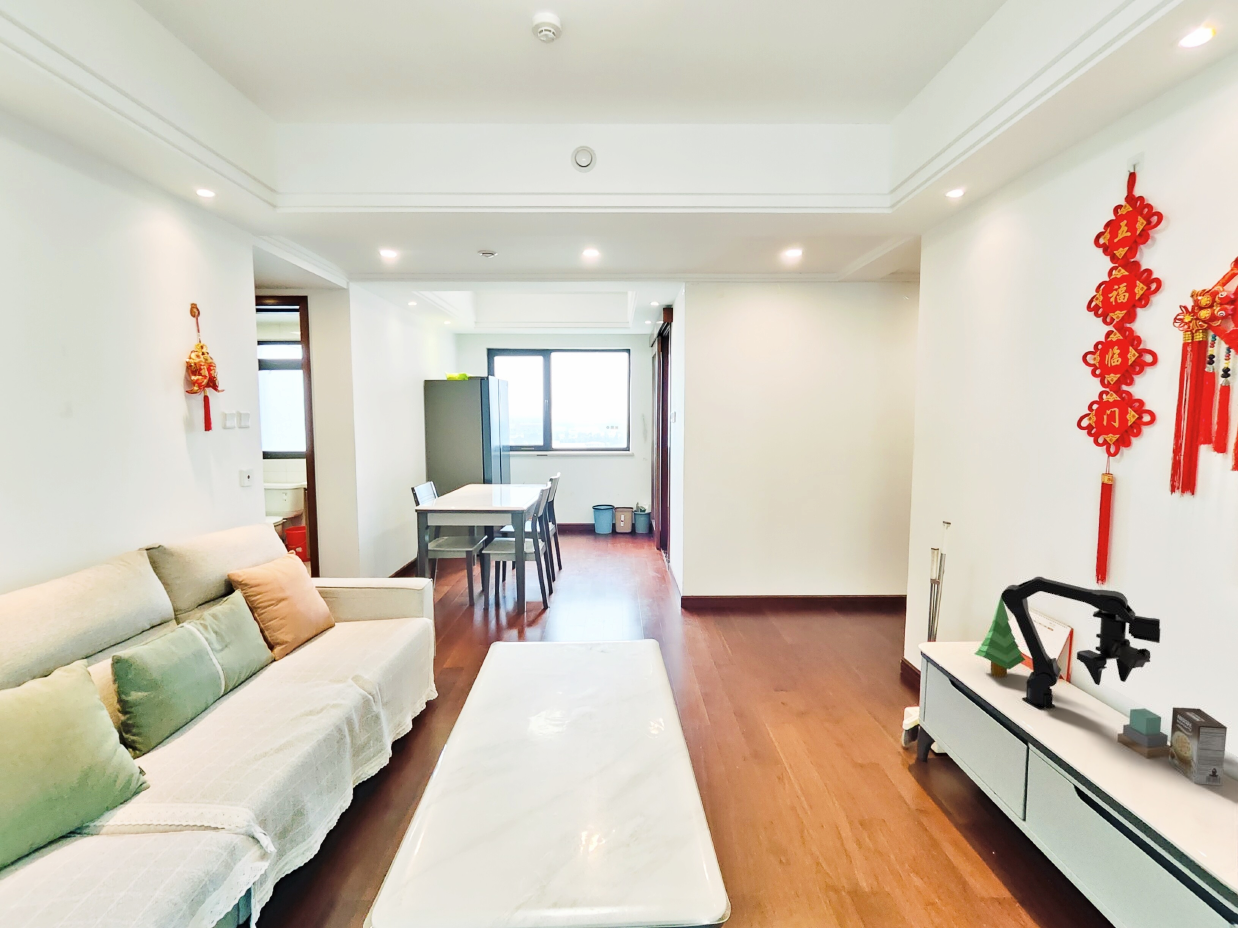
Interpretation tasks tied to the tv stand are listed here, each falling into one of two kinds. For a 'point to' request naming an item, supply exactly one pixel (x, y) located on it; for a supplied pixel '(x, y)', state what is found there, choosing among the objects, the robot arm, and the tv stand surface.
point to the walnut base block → (1143, 748)
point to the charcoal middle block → (1145, 737)
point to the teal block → (1145, 721)
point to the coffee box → (1197, 745)
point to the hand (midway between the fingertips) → (1110, 682)
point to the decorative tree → (1000, 644)
